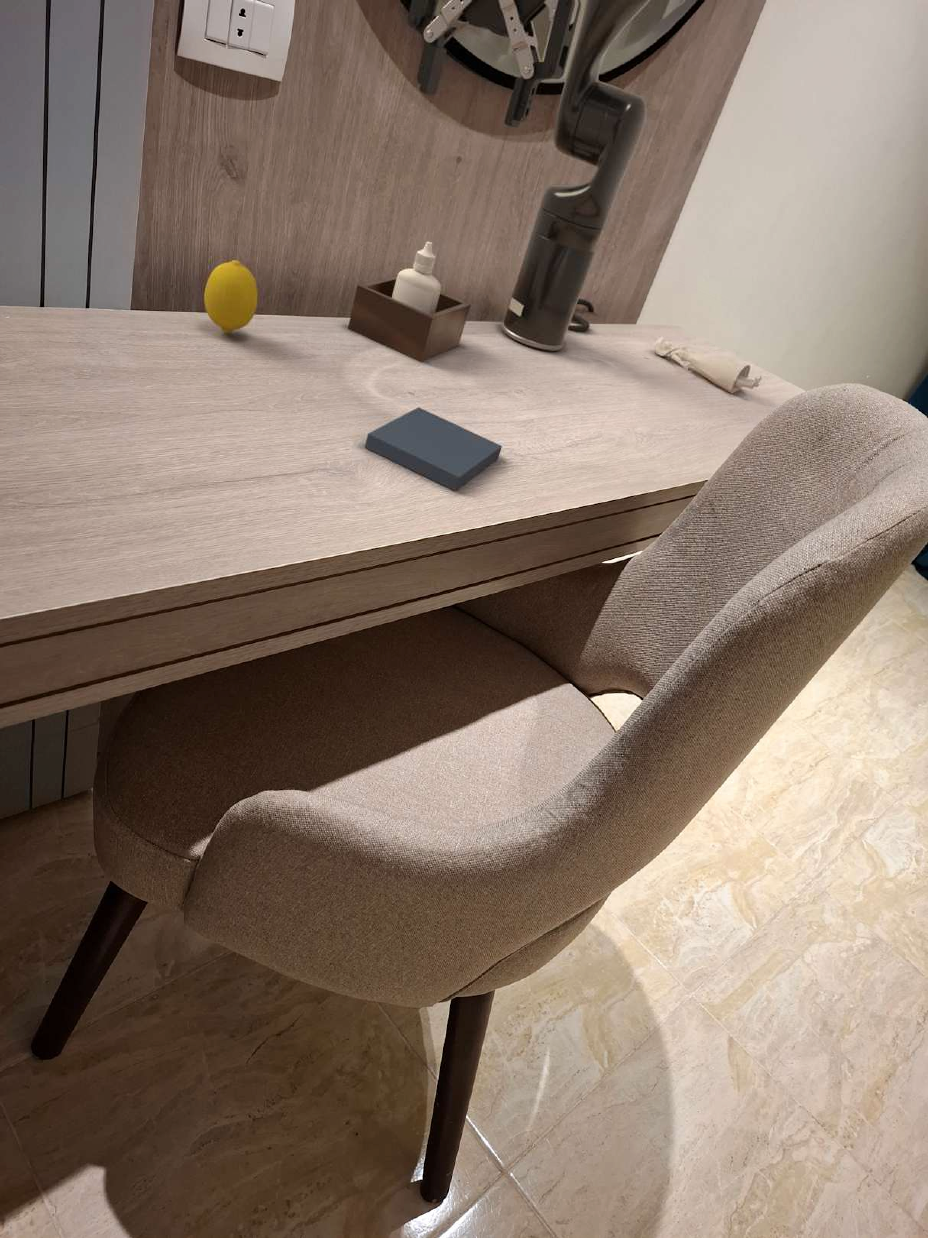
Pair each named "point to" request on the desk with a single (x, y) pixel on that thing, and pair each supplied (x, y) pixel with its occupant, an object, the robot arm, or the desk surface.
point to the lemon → (231, 296)
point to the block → (434, 447)
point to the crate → (407, 321)
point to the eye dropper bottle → (419, 283)
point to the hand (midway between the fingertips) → (468, 109)
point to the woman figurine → (710, 367)
